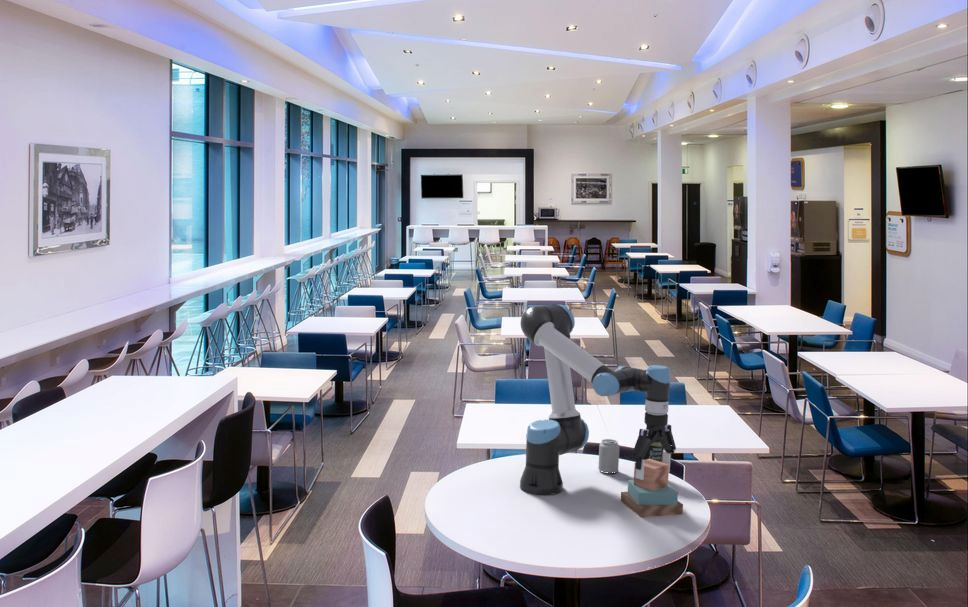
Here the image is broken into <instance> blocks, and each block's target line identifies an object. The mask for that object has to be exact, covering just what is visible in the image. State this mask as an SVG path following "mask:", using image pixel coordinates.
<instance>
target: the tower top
mask: <svg viewBox="0 0 968 607" xmlns="http://www.w3.org/2000/svg"><path fill="white" fill-rule="evenodd" d="M627 482H628V483H627V492H629V494H630V495H631V496H632V497H633V499H634V500H635V501H636V503H637V504H638V505H677V502H678V501H679V500H678V498H679V492H677V491H676V490H677V489H675V488H674V487H673V486H672V485H671V483H669V482H668V487H665V488H662V489H658V490H655V491H651V490H648V489H645V488H642V487H639V486H636V485H634V479H628V481H627Z"/></svg>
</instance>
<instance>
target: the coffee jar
mask: <svg viewBox="0 0 968 607" xmlns="http://www.w3.org/2000/svg"><path fill="white" fill-rule="evenodd" d="M647 439H649V438H647ZM663 452H665V450H664V448H663V447H662V445H661V443H660V441H659V440H657V441H654V442H653V443H652V444H651V445H650V447H649V449H648V451H647V453H646V454H645V456H644V458H643V460H646V459H652V460H656V461H659V462H662V459H663ZM640 456H641V455H640Z"/></svg>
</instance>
